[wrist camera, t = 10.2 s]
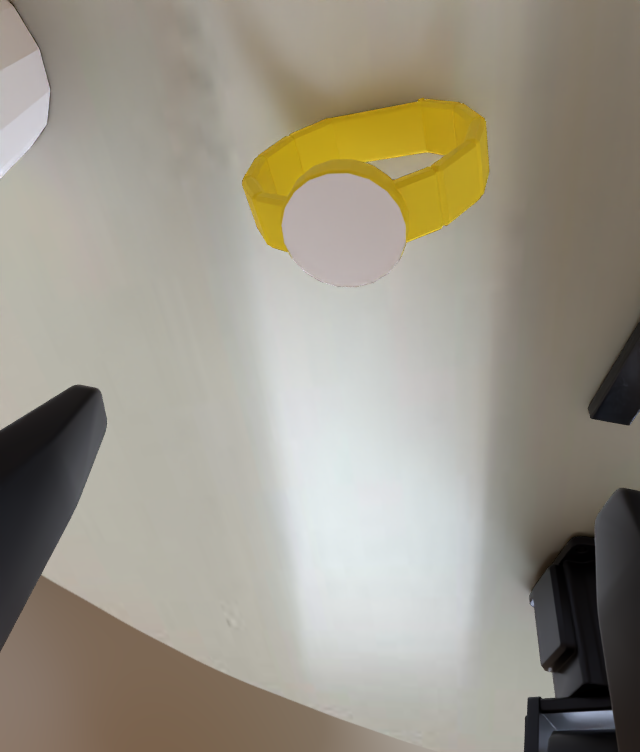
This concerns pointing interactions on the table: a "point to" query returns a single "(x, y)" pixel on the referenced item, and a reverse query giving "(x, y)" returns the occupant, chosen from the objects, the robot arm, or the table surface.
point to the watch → (366, 187)
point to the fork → (620, 387)
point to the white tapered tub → (19, 88)
